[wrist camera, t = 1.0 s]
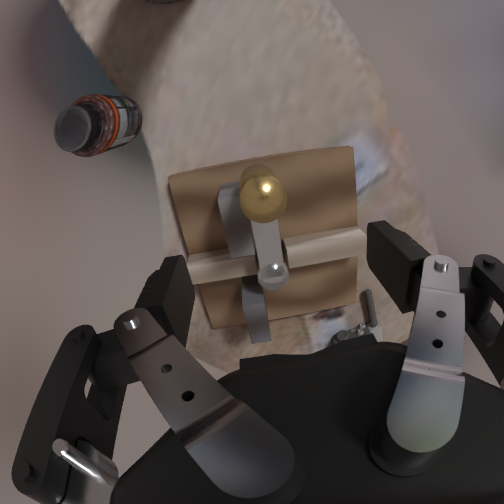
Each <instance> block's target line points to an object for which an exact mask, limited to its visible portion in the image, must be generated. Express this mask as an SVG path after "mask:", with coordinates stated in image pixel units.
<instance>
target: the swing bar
mask: <svg viewBox="0 0 504 504" xmlns="http://www.w3.org/2000/svg"><path fill="white" fill-rule="evenodd" d="M240 206H241V209H242V211H243V213H244V214H245V216H246V217H247V218H249V219H250V220H251V223H252V228H253V233H254V239H255V244H256V250H257V255H258V260H259V266H258V269H257V275H258V282H259V284H260V285H261V286H262V287H263V288H265V289H267V290H278V289H280V288H282V287H283V286H285V285H286V283H287V282H288V279H289V272H288V269H287V266H286V264H285V263H284V262H283V255H282V248H281V241H280V234H279V227H278V220H277V219H278V218H279V217H280V216H281V215H282V214H283V212H284V211H285V209H286V206H287V195H286V192H285V190H284V188H283V187H282V185H281V183H280V182H279V180H278V179H277V177H276V175H275V174H274V172H273V171H272V170H271V169H270V168H269V167H268V166H266V165H263V164H253V165H250V166H248V167H247V168H245V169H244V170H242V174H241V176H240Z"/></svg>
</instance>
